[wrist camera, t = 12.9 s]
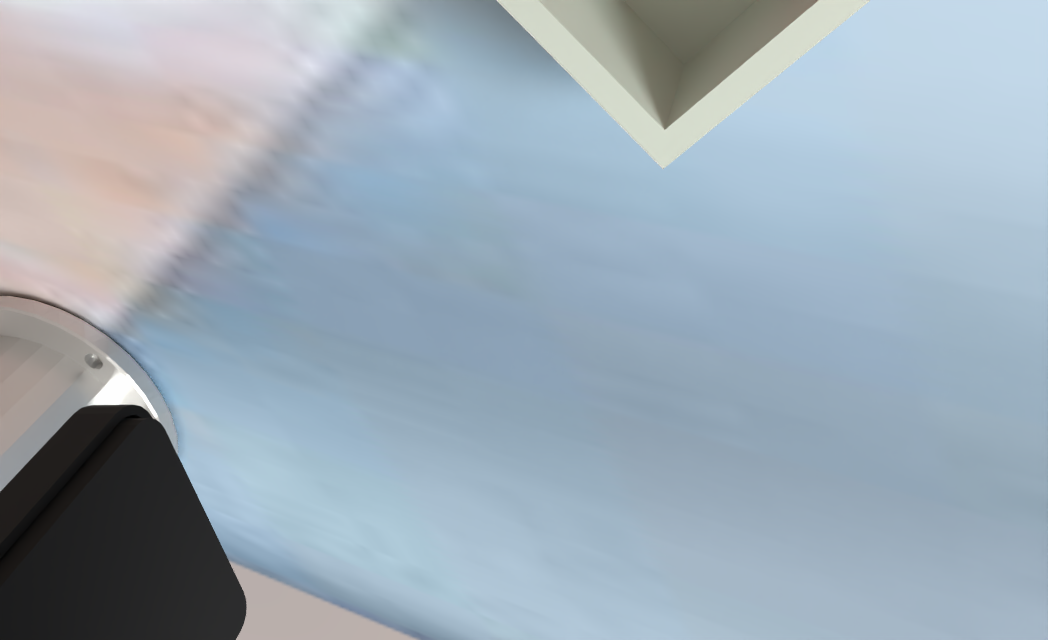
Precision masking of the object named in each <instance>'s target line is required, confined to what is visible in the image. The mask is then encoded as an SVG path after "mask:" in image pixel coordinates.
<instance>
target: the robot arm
mask: <svg viewBox="0 0 1048 640" xmlns="http://www.w3.org/2000/svg"><path fill="white" fill-rule="evenodd" d="M245 616H246V599H245V595H244V592H243V590H242V588H241V586H240V584H239V581H238V579H237V577H236V575H235V573H234V572H233V569H232V567H231V565H230V563H229V561H228V559H227V556H226V554H225V552H224V550H223V548H222V546H221V544H220V542H219V540H218V538H217V536H216V534H215V532H214V530H213V527H212V525H211V523H210V521H209V519H208V517H207V515H206V513H205V511H204V509H203V507H202V505H201V503H200V501H199V498H198V496H197V494H196V492H195V490H194V488H193V486H192V484H191V482H190V480H189V478H188V476H187V474H186V472H185V469H184V467H183V465H182V463H181V461H180V459H179V457H178V440H177V432H176V429H175V425H174V422H173V418H172V415H171V413H170V411H169V409H168V407H167V405H166V403H165V401H164V399H163V397H162V395H161V393H160V392H159V390H158V389H157V387H156V386H155V385H154V383H153V382H152V380H151V379H150V377H149V376H148V375H147V373H146V372H145V371H144V370H143V369H142V368H141V367H140V366H139V365H138V363H137V362H136V361H135V360H134V359H133V358H132V357H131V356H130V355H129V354H128V353H127V352H126V351H125V350H123V349H122V348H121V347H120V346H119V345H118V344H116V343H115V342H114V341H113V340H112V339H110V338H109V337H108V336H107V335H105V334H104V333H102V332H100V331H99V330H97V329H96V328H94V327H93V326H91V325H90V324H88V323H87V322H85V321H83V320H81V319H79V318H77V317H75V316H73V315H71V314H69V313H67V312H65V311H63V310H61V309H59V308H56V307H53V306H50V305H47V304H44V303H41V302H38V301H35V300H30V299H24V298H18V297H13V296H0V640H236V638H237V636H238V635H239V633H240V631H241V629H242V626H243V624H244V620H245Z"/></svg>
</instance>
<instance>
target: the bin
mask: <svg viewBox="0 0 1048 640" xmlns="http://www.w3.org/2000/svg"><path fill="white" fill-rule="evenodd" d="M497 1H498V2H499V3H500V4H501V5H502V6H503V8H504V9H505V10H506V11H507V12H508V13H509V14H510V15H511V16H512V17H513V18H514V19H515V20H516V21H517V22H518V23H519V24H520V25H521V26H522V27H523V28H524V29H525V30H526V31H527V32H528V33H529V34H530V35H531V36H532V37H533V38H534V39H535V40H536V41H537V42H538V43H539V44H540V45H541V46H542V47H543V48H544V49H545V50H546V51H547V52H548V53H549V54H550V55H551V56H552V57H553V58H554V59H555V60H556V61H557V62H558V63H559V64H560V65H561V66H562V67H563V68H564V69H565V70H566V71H567V72H568V73H569V74H570V75H571V76H572V77H573V78H574V79H575V80H576V82H577V83H578V84H579V85H580V86H581V87H582V88H583V89H584V90H585V91H586V92H587V93H588V94H589V95H590V96H591V97H592V98H593V99H594V100H595V101H596V102H597V103H598V104H599V105H600V106H601V107H602V108H603V109H604V110H605V111H606V112H607V113H608V114H609V115H610V116H611V117H612V118H613V119H614V120H615V121H616V122H617V123H618V124H619V125H620V126H621V127H622V128H623V129H624V130H625V131H626V132H627V133H628V134H629V135H630V136H631V137H632V138H633V139H634V140H635V141H636V142H637V143H638V144H639V145H640V146H641V147H642V148H643V149H644V150H645V151H646V152H647V153H648V154H649V156H650V157H651V158H652V159H653V160H654V161H655V162H656V163H657V164H658V165H659V166H660V167H661V168H662V169H664V168H665V167H666V166H667V165H669V164H670V163H671V162H672V161H674V160H675V159H676V158H677V157H679V156H680V155H681V154H682V153H683V152H685V151H686V150H687V149H688V148H690V147H691V146H692V145H693V144H694V143H696V142H697V141H698V140H699V139H701V138H702V137H703V136H704V135H706V134H707V133H708V132H709V131H710V130H712V129H713V128H714V127H715V126H717V125H718V124H719V123H720V122H722V121H723V120H724V119H725V118H726V117H728V116H729V115H730V114H731V113H733V112H734V111H735V110H736V109H737V108H739V107H740V106H741V105H742V104H744V103H745V102H746V101H747V100H749V99H750V98H751V97H752V96H753V95H755V94H756V93H757V92H758V91H760V90H761V89H762V88H763V87H765V86H766V85H767V84H768V83H769V82H771V81H772V80H773V79H774V78H776V77H777V76H778V75H779V74H780V73H782V72H783V71H784V70H785V69H787V68H788V67H789V66H790V65H792V64H793V63H794V62H795V61H796V60H798V59H799V58H800V57H801V56H803V55H804V54H805V53H806V52H808V51H809V50H810V49H811V48H812V47H814V46H815V45H816V44H817V43H819V42H820V41H821V40H822V39H823V38H825V37H826V36H827V35H828V34H830V33H831V32H832V31H833V30H835V29H836V28H837V27H838V26H839V25H841V24H842V23H843V22H844V21H846V20H847V19H848V18H849V17H851V16H852V15H853V14H854V13H855V12H857V11H858V10H859V9H860V8H862V7H863V6H864V5H865V4H866V3H868V2H869V1H870V0H497Z"/></svg>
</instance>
